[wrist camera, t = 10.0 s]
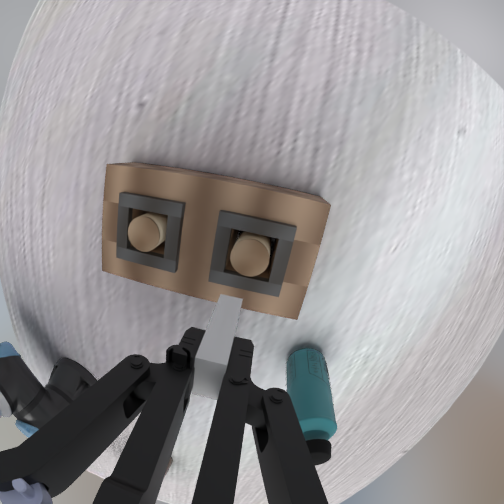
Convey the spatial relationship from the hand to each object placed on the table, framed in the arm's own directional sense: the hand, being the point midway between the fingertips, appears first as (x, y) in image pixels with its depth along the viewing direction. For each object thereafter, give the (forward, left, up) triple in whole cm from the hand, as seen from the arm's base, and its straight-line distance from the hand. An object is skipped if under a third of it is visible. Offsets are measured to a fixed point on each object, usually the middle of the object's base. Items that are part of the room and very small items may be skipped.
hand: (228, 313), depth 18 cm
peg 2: (0, 0, -18) cm, 18 cm away
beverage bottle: (+12, -18, -20) cm, 29 cm away
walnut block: (-6, 0, -19) cm, 20 cm away
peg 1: (-12, 0, -18) cm, 22 cm away
